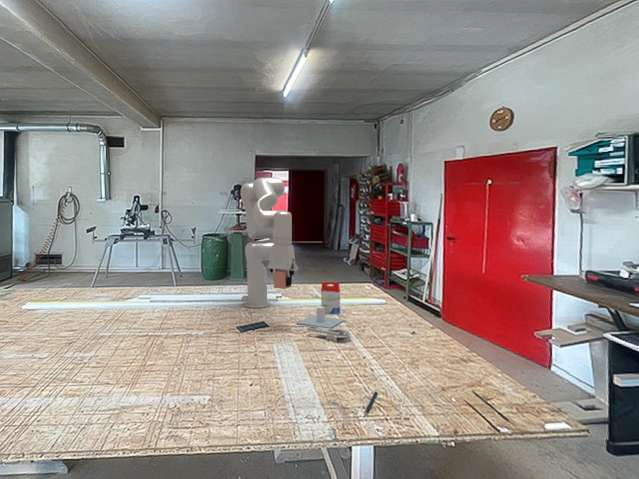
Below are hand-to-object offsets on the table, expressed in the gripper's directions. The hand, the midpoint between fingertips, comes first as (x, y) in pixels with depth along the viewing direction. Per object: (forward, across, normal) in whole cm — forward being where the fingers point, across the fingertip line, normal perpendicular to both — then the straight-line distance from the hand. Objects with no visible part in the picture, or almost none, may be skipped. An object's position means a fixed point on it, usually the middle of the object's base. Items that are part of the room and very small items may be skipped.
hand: (282, 284), depth 203 cm
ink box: (+18, +8, +30) cm, 35 cm away
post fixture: (+17, +12, +12) cm, 24 cm away
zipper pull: (+18, +24, -6) cm, 31 cm away
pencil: (+17, +60, -55) cm, 83 cm away
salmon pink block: (+1, 0, 0) cm, 1 cm away
